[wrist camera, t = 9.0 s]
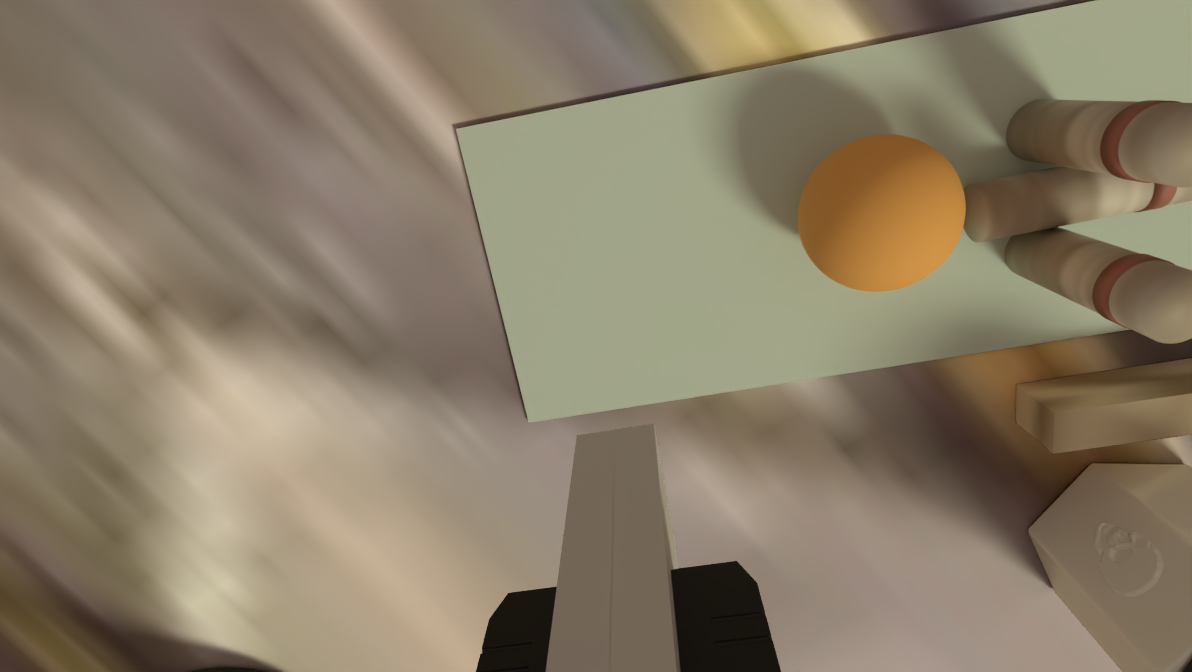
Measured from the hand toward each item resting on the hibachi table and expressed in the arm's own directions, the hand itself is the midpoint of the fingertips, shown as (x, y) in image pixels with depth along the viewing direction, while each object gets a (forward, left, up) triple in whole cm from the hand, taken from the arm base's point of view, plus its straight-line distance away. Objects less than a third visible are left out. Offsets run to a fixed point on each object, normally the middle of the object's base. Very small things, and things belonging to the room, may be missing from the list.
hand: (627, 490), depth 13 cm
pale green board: (+10, 0, -18) cm, 21 cm away
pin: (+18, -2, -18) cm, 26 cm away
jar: (+22, -18, -19) cm, 34 cm away
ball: (+10, +1, -15) cm, 18 cm away
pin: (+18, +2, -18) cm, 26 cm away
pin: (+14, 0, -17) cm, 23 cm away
